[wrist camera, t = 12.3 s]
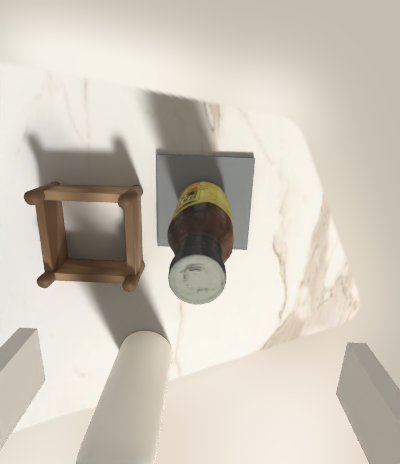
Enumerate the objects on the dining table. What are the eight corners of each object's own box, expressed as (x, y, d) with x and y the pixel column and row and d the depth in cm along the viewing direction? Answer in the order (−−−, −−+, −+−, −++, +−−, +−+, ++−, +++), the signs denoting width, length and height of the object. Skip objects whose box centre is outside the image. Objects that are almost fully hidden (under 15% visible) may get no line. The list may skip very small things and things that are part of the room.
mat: (158, 244, 42) (157, 245, 42) (157, 154, 39) (156, 154, 38) (246, 248, 42) (246, 249, 42) (254, 157, 38) (254, 158, 38)
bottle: (118, 329, 47) (-20, 637, 19) (171, 329, 47) (113, 642, 18) (123, 372, 50) (9, 699, 21) (173, 372, 49) (126, 704, 21)
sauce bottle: (191, 171, 38) (174, 213, 20) (236, 191, 39) (262, 251, 20) (171, 217, 40) (139, 296, 22) (214, 235, 41) (220, 328, 22)
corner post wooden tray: (59, 266, 44) (37, 287, 38) (49, 181, 40) (23, 190, 34) (145, 270, 44) (135, 292, 38) (142, 185, 40) (131, 195, 34)
